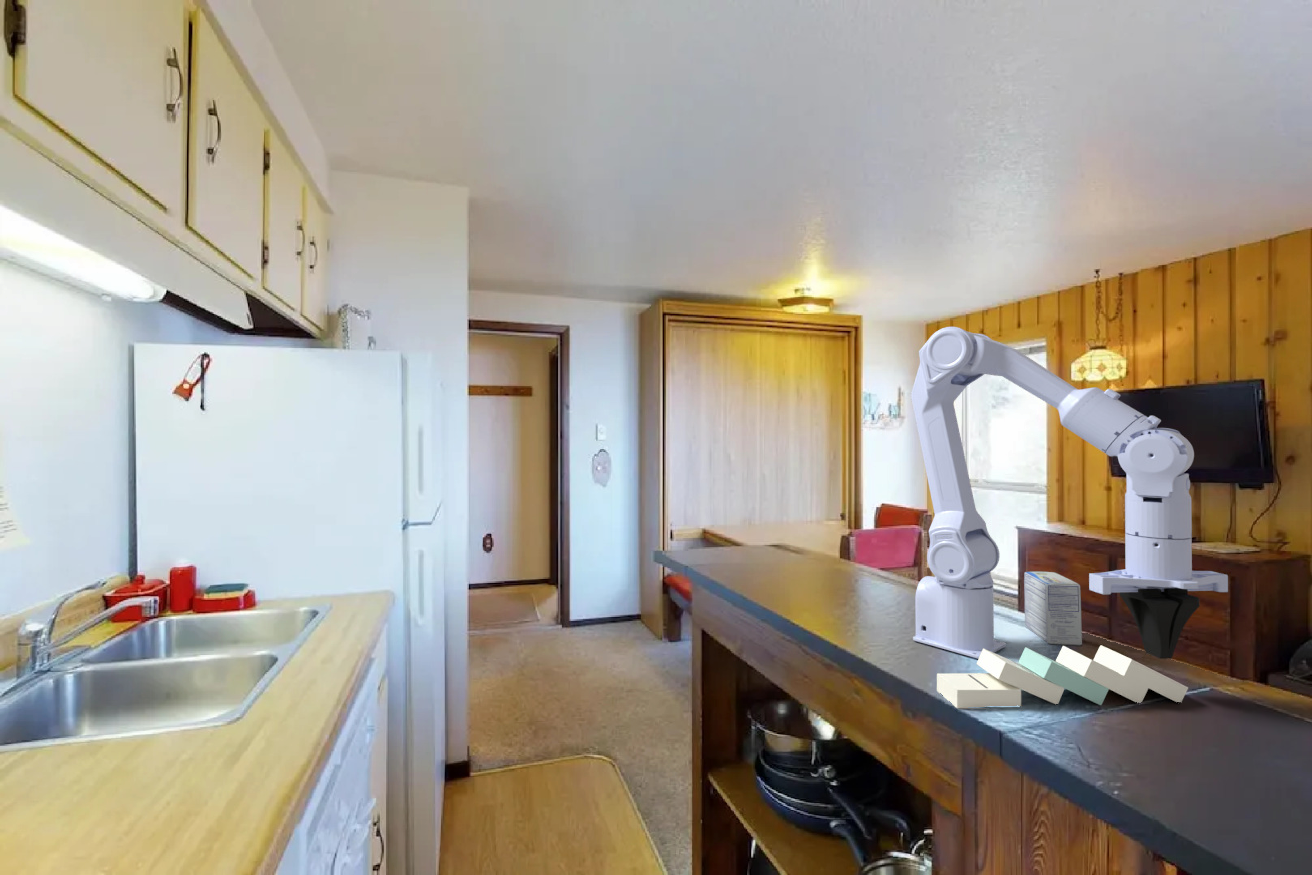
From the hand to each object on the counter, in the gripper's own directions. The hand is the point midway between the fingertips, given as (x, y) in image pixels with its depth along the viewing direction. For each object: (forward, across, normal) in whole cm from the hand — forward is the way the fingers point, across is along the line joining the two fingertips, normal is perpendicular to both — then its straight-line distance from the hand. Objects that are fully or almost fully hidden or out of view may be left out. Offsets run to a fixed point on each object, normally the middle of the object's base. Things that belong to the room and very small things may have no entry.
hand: (1158, 655), depth 66 cm
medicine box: (+5, +2, +19) cm, 20 cm away
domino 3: (+4, -8, 0) cm, 9 cm away
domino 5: (+3, +1, 0) cm, 4 cm away
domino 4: (+3, -4, 0) cm, 5 cm away
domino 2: (+3, -13, 0) cm, 13 cm away
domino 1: (+3, -17, 0) cm, 18 cm away
